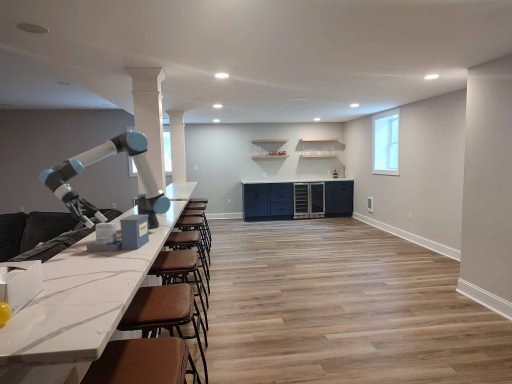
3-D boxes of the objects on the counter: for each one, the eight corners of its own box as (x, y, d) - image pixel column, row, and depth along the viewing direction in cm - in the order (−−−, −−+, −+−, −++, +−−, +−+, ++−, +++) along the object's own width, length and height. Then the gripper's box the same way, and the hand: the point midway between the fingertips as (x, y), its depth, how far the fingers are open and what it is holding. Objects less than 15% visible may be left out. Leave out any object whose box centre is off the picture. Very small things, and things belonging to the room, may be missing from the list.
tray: (98, 245, 167) (97, 240, 166) (125, 245, 166) (125, 239, 166) (87, 251, 156) (86, 245, 156) (116, 251, 156) (116, 245, 155)
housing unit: (134, 241, 175) (132, 214, 174) (149, 241, 175) (148, 214, 174) (121, 249, 159) (119, 219, 157) (138, 249, 159) (137, 219, 157)
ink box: (117, 244, 164) (116, 222, 163) (113, 247, 159) (111, 224, 158) (101, 245, 164) (99, 222, 163) (96, 247, 159) (94, 224, 158)
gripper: (56, 191, 146) (91, 223, 148) (85, 187, 171) (115, 214, 172) (46, 203, 147) (80, 234, 148) (76, 197, 172) (105, 224, 173)
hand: (99, 224), depth 160 cm, fingers open, 13 cm apart
